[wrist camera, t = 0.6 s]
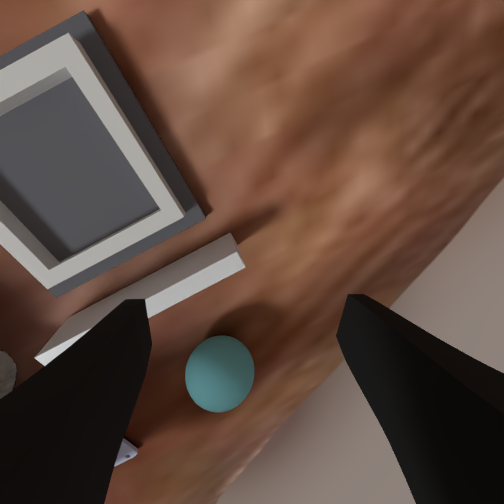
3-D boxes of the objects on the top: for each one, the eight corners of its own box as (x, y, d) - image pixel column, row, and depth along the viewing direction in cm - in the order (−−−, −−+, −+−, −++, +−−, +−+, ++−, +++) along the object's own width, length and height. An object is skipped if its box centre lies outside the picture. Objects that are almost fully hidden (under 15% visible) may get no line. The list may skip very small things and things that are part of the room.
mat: (60, 293, 18) (45, 307, 16) (-110, 126, 13) (-157, 121, 11) (205, 216, 17) (205, 222, 16) (88, 16, 13) (71, -5, 11)
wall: (79, 328, 19) (49, 369, 15) (68, 317, 18) (34, 357, 15) (237, 245, 19) (245, 267, 15) (230, 232, 18) (236, 251, 15)
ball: (207, 378, 23) (207, 440, 18) (175, 340, 21) (165, 399, 16) (258, 352, 23) (272, 407, 18) (231, 311, 21) (239, 361, 16)
